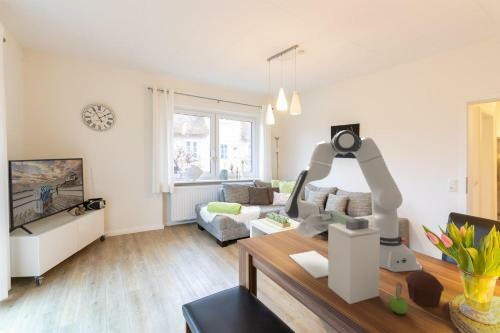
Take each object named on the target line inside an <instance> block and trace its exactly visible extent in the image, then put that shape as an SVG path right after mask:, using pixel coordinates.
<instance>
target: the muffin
mask: <svg viewBox="0 0 500 333" xmlns="http://www.w3.org/2000/svg"><path fill="white" fill-rule="evenodd" d="M405 281H406V284H407V286H406V287H407V292H408V298H409V300H411V301H412V302H413V303H414V304H417V305H420V306H421V307H423V308H431V309H434V308H438V307H439V306H440V301H441V297H442V293H443V291H444V286H443V284H442V283H441V282H440V280H438V279H437V277H435V275H433V274H431V273H429V272H427V271H423V270H414V271H411V272H410V273H409V274H407V275H406V277H405Z"/></svg>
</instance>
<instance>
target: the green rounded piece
mask: <svg viewBox="0 0 500 333" xmlns="http://www.w3.org/2000/svg"><path fill="white" fill-rule="evenodd" d="M395 286H396V287H395V295H392V296H391V297H390V298H389V300H388V305H389V308H390V309H391V310H392V312H394V313H396V314H397V315H404V314H406V313H407V312H408V309H409V306H408V303H407V301H406V299H405V298H404V297H402V292H403V291H402V290H403V285H402V283H401V282H400V281H397V282H396V284H395Z"/></svg>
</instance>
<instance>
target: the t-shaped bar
mask: <svg viewBox="0 0 500 333" xmlns="http://www.w3.org/2000/svg"><path fill="white" fill-rule="evenodd" d="M325 211H326V215H327V214H332V216H333V218H331V220H334V221H336V222H339V223H341V224H344V225H346V228H347V229H349V230H358V229H365V228H368V226H369V225H370V224H369V223H370V221H369V219H366V218H364V217H362V218H361V217H360V218H355V217H352V216H350V215H344V214H341V213H342V212H337V211H335V210H330V209H329V210H325Z"/></svg>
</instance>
